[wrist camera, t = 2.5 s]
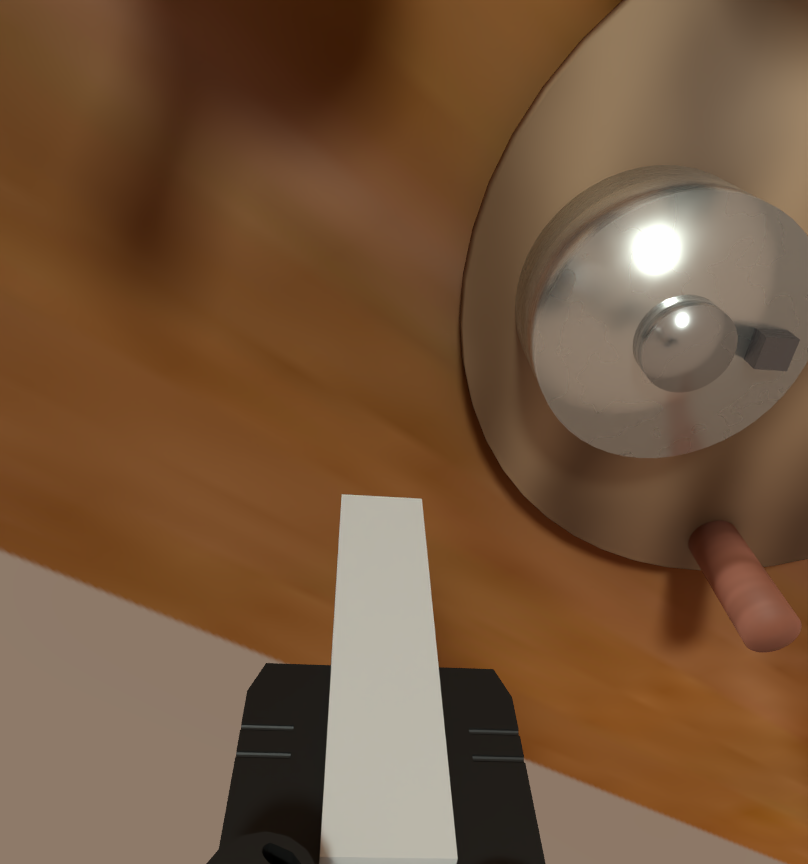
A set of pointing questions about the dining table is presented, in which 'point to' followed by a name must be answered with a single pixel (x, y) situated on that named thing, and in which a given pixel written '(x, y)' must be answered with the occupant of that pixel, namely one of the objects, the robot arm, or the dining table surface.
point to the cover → (664, 311)
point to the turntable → (584, 167)
